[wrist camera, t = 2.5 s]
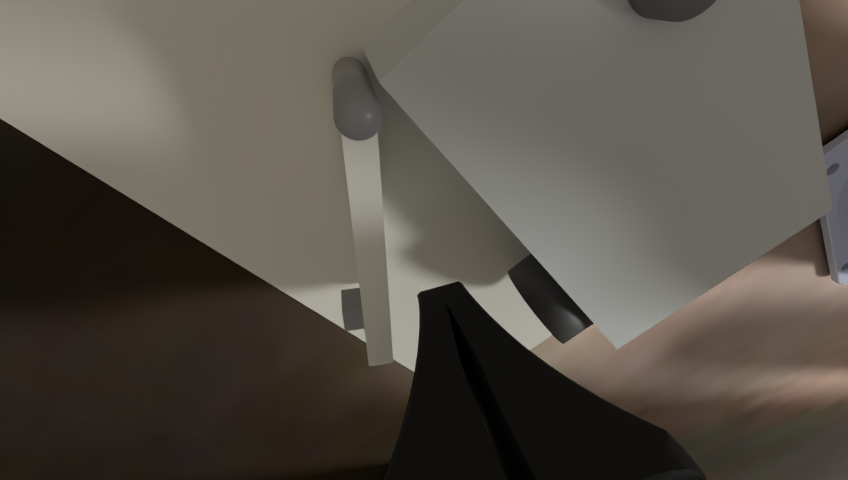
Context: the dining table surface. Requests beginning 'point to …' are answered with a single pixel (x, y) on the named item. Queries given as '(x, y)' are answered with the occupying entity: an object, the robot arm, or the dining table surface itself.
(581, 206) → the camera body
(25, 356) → the dining table surface
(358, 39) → the mat
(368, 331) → the side door
